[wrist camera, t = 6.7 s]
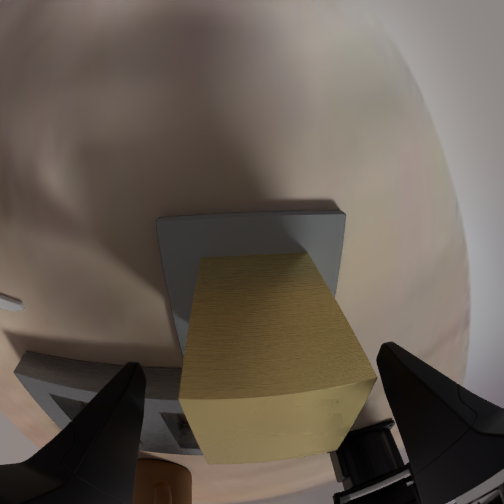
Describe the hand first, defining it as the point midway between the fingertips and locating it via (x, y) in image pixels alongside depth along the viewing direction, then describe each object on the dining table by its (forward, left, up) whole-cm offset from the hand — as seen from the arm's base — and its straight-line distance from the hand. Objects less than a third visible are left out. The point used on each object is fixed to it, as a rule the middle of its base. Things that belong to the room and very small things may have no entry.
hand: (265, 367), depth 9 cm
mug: (+11, +25, -5) cm, 28 cm away
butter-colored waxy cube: (0, 0, -4) cm, 4 cm away
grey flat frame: (+8, +10, -5) cm, 14 cm away
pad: (0, 0, -5) cm, 5 cm away
